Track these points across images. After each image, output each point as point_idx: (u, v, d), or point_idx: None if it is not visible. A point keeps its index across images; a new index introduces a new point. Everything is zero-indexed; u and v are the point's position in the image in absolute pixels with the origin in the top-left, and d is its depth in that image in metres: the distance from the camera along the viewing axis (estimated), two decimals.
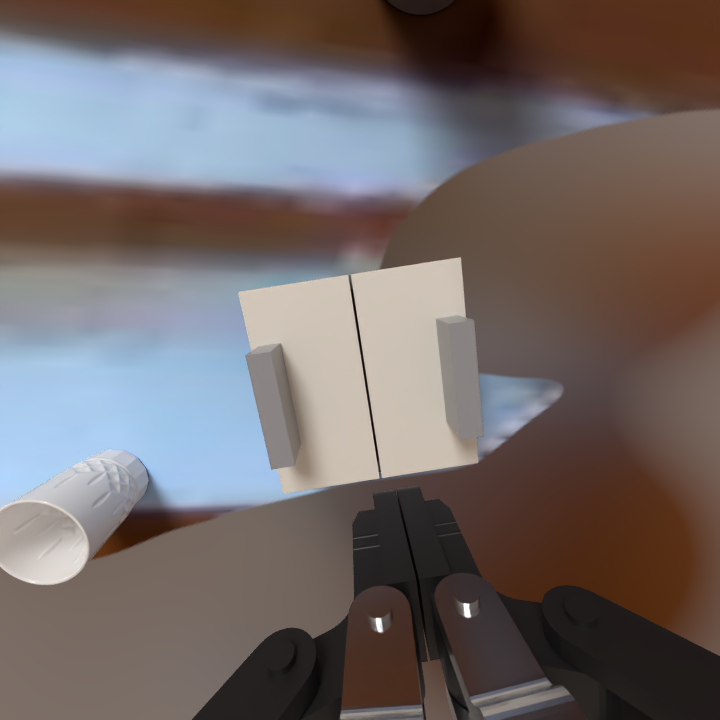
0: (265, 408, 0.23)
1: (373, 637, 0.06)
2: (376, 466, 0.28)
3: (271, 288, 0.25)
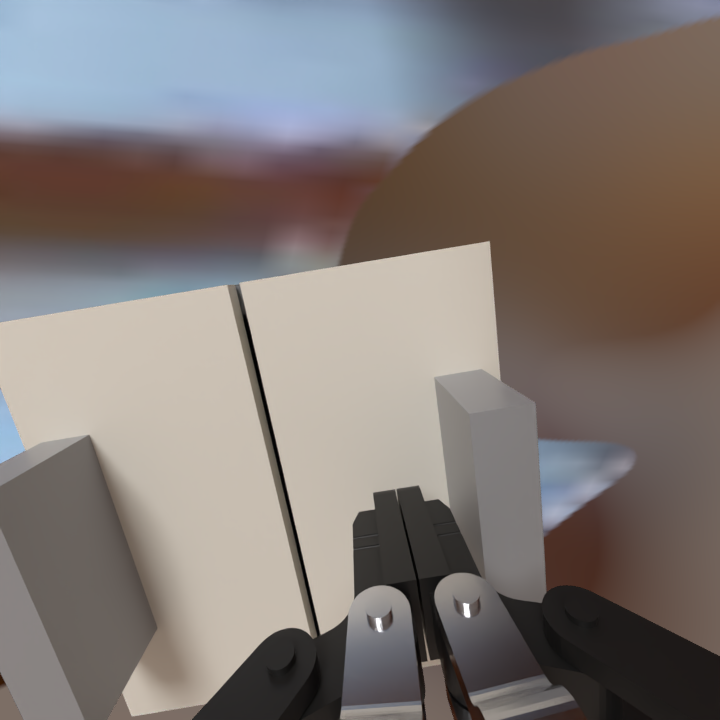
0: None
1: (373, 637, 0.06)
2: None
3: (53, 317, 0.11)
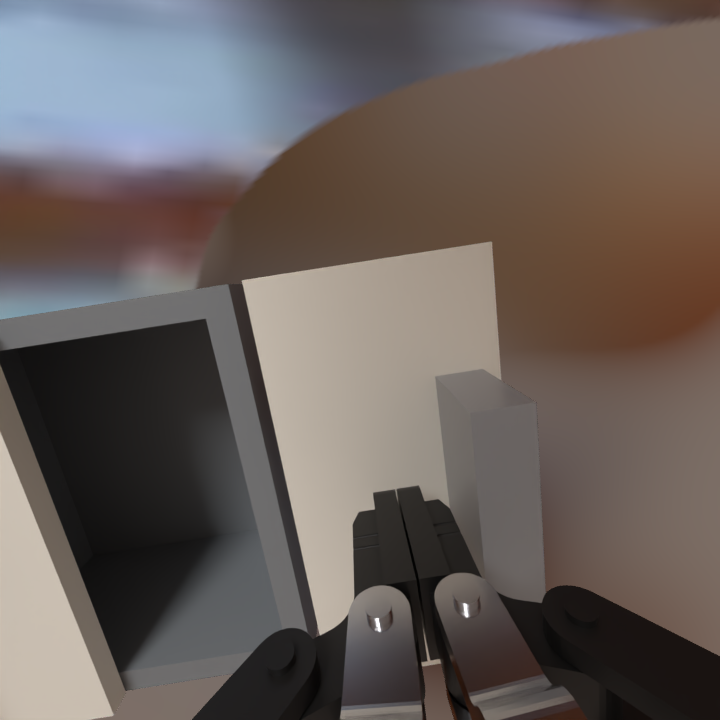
0: None
1: (373, 637, 0.06)
2: (103, 695, 0.14)
3: None
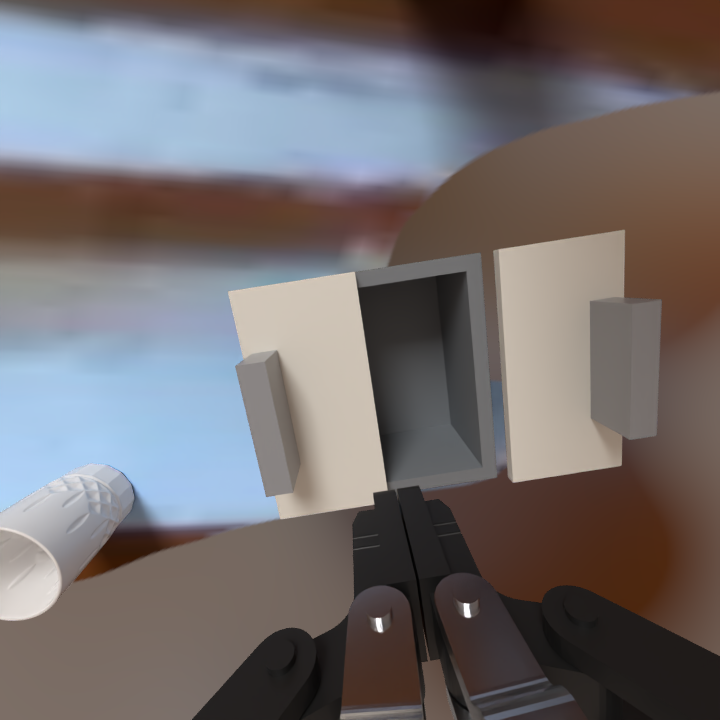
0: (259, 427, 0.20)
1: (373, 637, 0.06)
2: (385, 488, 0.25)
3: (266, 287, 0.21)
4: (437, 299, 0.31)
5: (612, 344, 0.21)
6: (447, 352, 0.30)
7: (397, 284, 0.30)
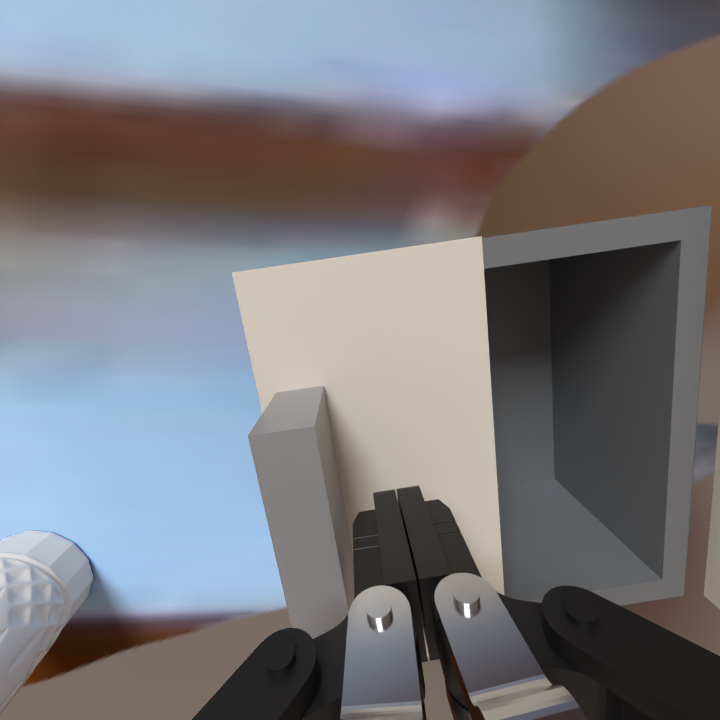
0: (296, 561, 0.09)
1: (373, 637, 0.06)
2: None
3: (307, 265, 0.11)
4: (549, 296, 0.20)
5: None
6: (565, 376, 0.20)
7: (490, 272, 0.20)
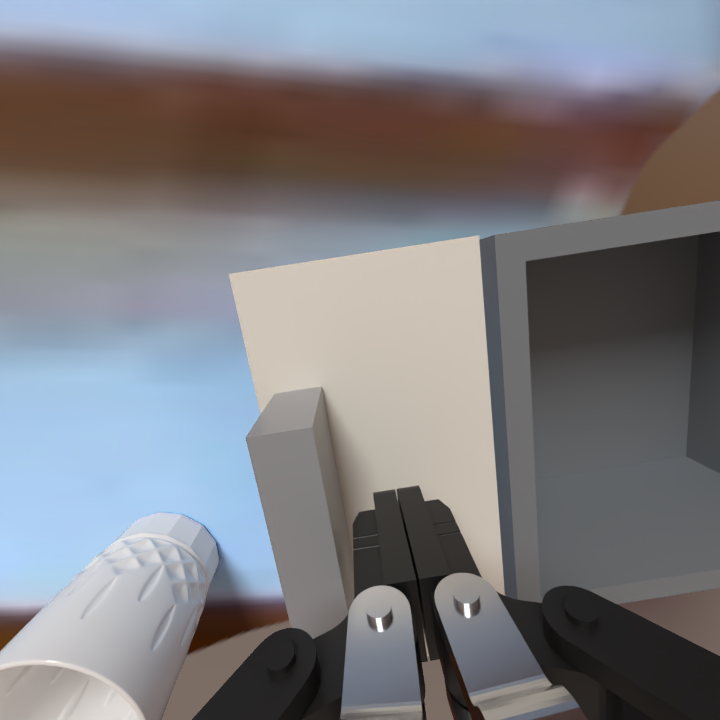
0: (295, 562, 0.09)
1: (373, 637, 0.06)
2: None
3: (304, 266, 0.11)
4: (696, 271, 0.20)
5: None
6: (715, 351, 0.20)
7: (640, 247, 0.20)
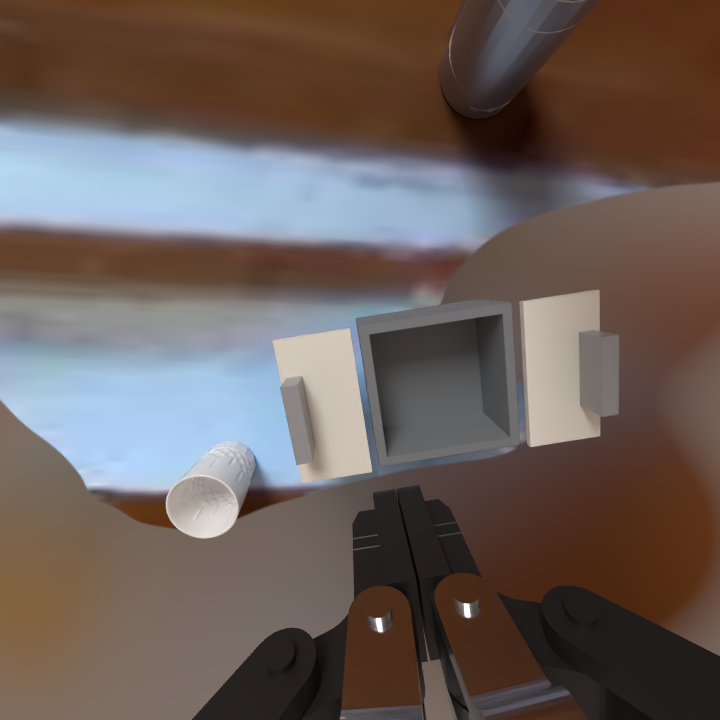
0: (293, 423, 0.33)
1: (373, 637, 0.06)
2: (370, 463, 0.38)
3: (296, 338, 0.35)
4: (475, 325, 0.45)
5: (592, 359, 0.35)
6: (483, 362, 0.44)
7: None
